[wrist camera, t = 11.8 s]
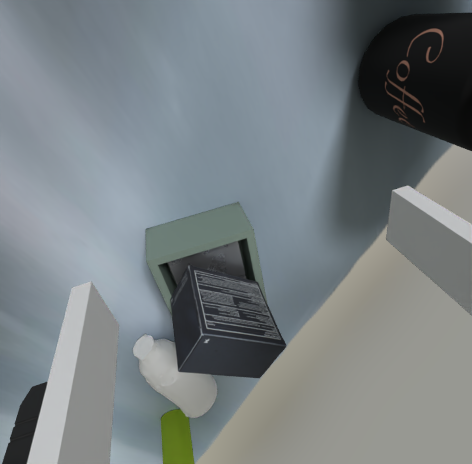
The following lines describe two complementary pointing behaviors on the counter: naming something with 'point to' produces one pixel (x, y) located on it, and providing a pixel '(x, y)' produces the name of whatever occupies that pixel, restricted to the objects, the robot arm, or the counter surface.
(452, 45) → the coffee jar
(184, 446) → the soap dispenser
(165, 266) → the box
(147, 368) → the white bottle
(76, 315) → the robot arm
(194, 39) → the counter surface
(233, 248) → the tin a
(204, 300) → the small box
